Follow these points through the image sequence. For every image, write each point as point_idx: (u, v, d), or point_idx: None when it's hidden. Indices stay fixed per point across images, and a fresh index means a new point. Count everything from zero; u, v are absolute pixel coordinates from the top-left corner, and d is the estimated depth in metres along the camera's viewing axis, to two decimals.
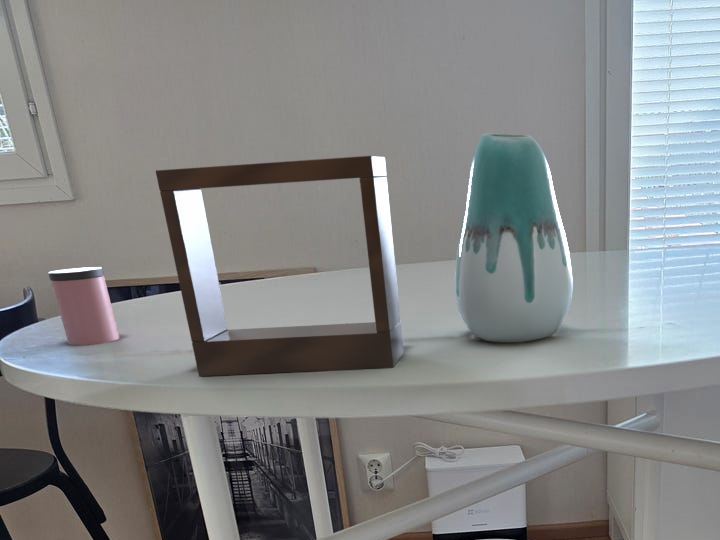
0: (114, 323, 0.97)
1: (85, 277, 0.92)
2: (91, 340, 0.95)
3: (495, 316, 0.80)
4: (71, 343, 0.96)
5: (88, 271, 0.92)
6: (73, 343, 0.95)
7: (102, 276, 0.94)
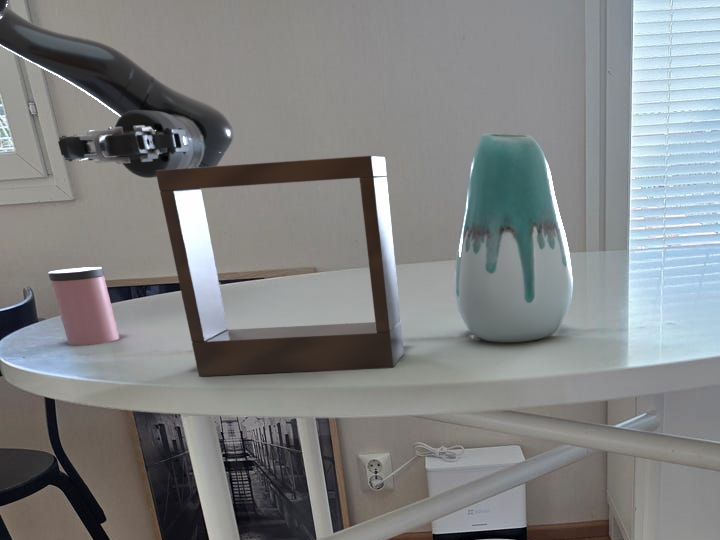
0: (114, 323, 0.97)
1: (85, 277, 0.92)
2: (91, 340, 0.95)
3: (495, 316, 0.80)
4: (71, 343, 0.96)
5: (88, 271, 0.92)
6: (73, 343, 0.95)
7: (102, 276, 0.94)
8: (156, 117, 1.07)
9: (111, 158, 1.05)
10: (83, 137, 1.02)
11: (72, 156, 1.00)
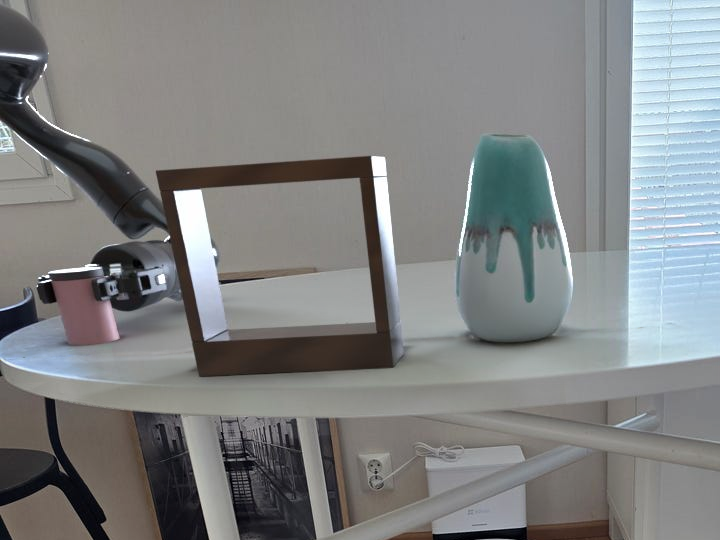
0: (114, 323, 0.97)
1: (85, 277, 0.92)
2: (91, 340, 0.95)
3: (495, 316, 0.80)
4: (71, 343, 0.96)
5: (88, 271, 0.92)
6: (73, 343, 0.95)
7: (102, 276, 0.94)
8: (135, 252, 1.02)
9: None
10: None
11: (51, 301, 0.94)
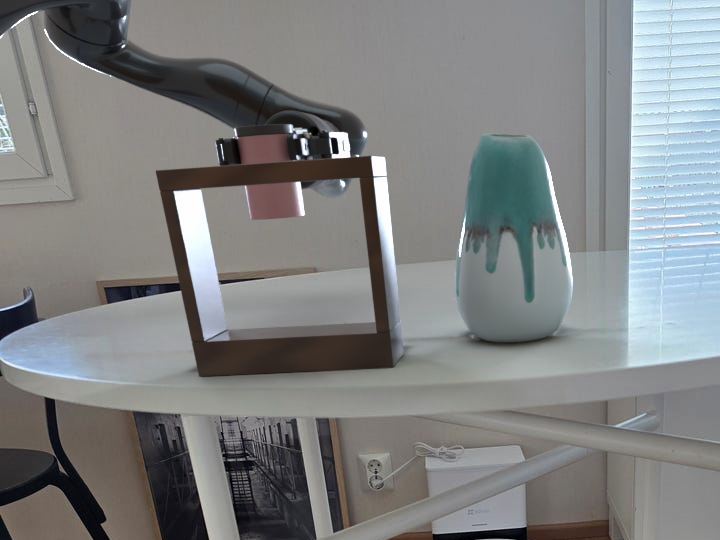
0: (301, 191, 0.86)
1: (278, 132, 0.82)
2: (279, 207, 0.84)
3: (495, 316, 0.80)
4: (256, 212, 0.85)
5: (282, 125, 0.82)
6: (258, 211, 0.85)
7: None
8: (312, 119, 0.92)
9: None
10: None
11: (236, 162, 0.83)
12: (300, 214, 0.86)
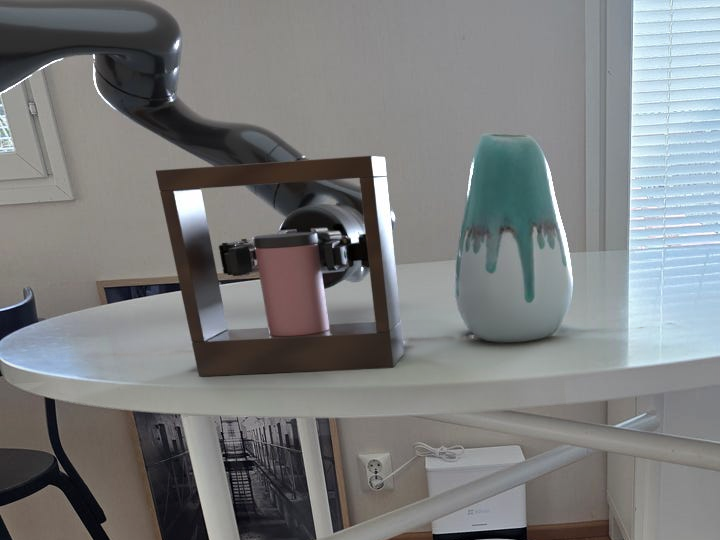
0: (325, 303, 0.77)
1: (302, 243, 0.73)
2: (301, 324, 0.76)
3: (495, 316, 0.80)
4: (275, 328, 0.76)
5: (305, 236, 0.73)
6: (278, 328, 0.76)
7: (317, 243, 0.75)
8: (336, 215, 0.83)
9: None
10: (251, 245, 0.77)
11: (242, 272, 0.75)
12: (324, 329, 0.77)
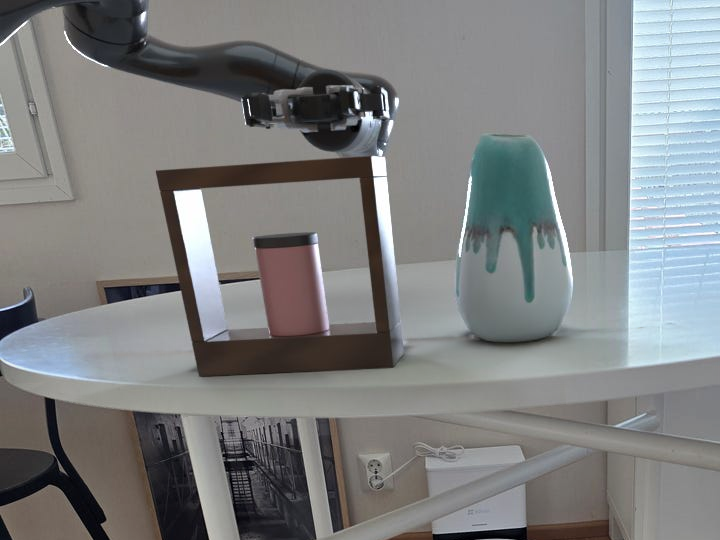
0: (325, 303, 0.77)
1: (302, 243, 0.73)
2: (301, 324, 0.76)
3: (495, 316, 0.80)
4: (275, 328, 0.76)
5: (305, 236, 0.73)
6: (278, 328, 0.76)
7: (317, 243, 0.75)
8: (349, 79, 0.90)
9: (299, 124, 0.87)
10: (272, 97, 0.84)
11: (263, 117, 0.82)
12: (324, 329, 0.77)
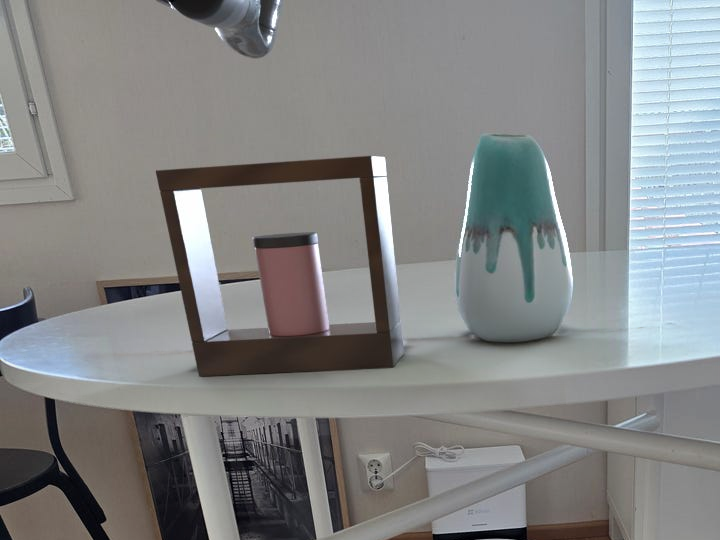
0: (325, 303, 0.77)
1: (302, 243, 0.73)
2: (301, 324, 0.76)
3: (495, 316, 0.80)
4: (275, 328, 0.76)
5: (305, 236, 0.73)
6: (278, 328, 0.76)
7: (317, 243, 0.75)
8: None
9: None
10: None
11: None
12: (324, 329, 0.77)
